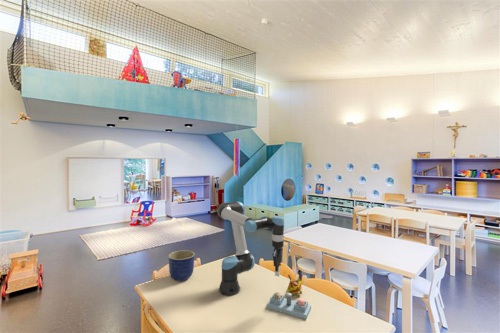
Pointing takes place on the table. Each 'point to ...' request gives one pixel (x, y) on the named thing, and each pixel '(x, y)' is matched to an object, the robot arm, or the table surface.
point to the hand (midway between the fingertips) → (277, 275)
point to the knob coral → (301, 302)
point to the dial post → (288, 299)
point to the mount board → (289, 307)
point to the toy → (294, 286)
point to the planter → (181, 264)
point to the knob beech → (277, 296)
